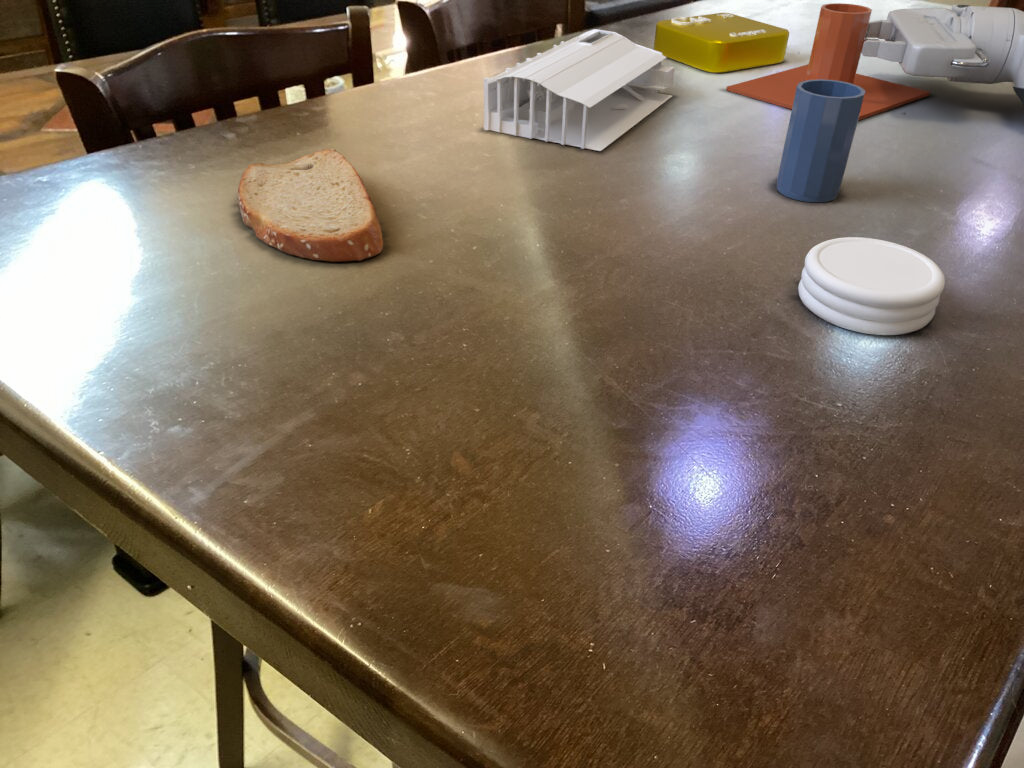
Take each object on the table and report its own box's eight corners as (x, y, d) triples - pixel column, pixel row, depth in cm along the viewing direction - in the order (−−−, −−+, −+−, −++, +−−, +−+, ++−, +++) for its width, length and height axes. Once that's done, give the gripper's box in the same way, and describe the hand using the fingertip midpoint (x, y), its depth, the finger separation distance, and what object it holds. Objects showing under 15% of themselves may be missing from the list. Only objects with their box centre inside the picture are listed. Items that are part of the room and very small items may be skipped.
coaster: (813, 262, 69) (823, 224, 67) (940, 293, 65) (955, 253, 63) (781, 314, 62) (791, 273, 60) (921, 352, 58) (937, 310, 56)
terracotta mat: (929, 95, 108) (930, 91, 108) (845, 125, 98) (846, 121, 98) (812, 66, 120) (813, 62, 119) (725, 90, 109) (726, 86, 109)
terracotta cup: (860, 90, 108) (881, 9, 102) (834, 98, 105) (854, 15, 99) (821, 80, 112) (839, 1, 106) (794, 88, 109) (811, 7, 103)
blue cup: (850, 192, 81) (878, 90, 75) (815, 207, 78) (841, 102, 72) (799, 174, 85) (821, 75, 79) (763, 188, 82) (784, 86, 76)
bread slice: (365, 269, 67) (361, 227, 65) (176, 239, 71) (166, 199, 69) (443, 188, 81) (442, 151, 78) (282, 167, 85) (276, 131, 83)
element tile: (713, 75, 115) (718, 39, 112) (647, 51, 125) (651, 17, 123) (789, 62, 121) (796, 27, 118) (721, 40, 132) (726, 8, 129)
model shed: (597, 154, 89) (602, 89, 85) (481, 131, 95) (481, 69, 91) (673, 95, 107) (680, 39, 103) (572, 79, 112) (575, 25, 108)
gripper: (984, 94, 96) (861, 86, 98) (948, 51, 112) (843, 45, 114) (1004, 37, 92) (875, 30, 94) (963, 1, 108) (854, -4, 110)
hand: (857, 38), depth 104 cm, fingers open, 8 cm apart
